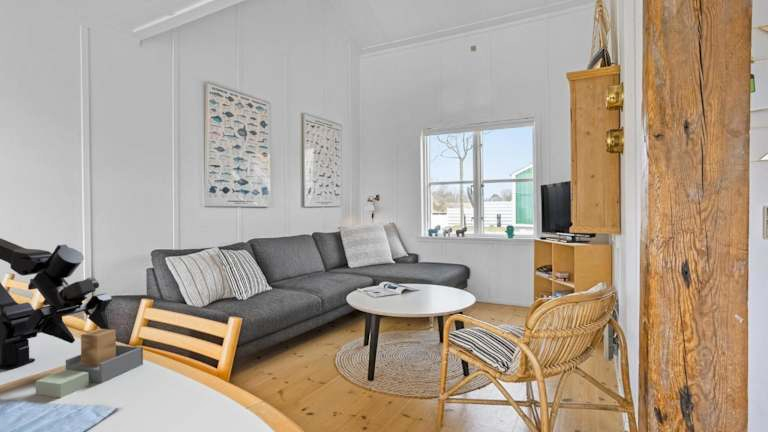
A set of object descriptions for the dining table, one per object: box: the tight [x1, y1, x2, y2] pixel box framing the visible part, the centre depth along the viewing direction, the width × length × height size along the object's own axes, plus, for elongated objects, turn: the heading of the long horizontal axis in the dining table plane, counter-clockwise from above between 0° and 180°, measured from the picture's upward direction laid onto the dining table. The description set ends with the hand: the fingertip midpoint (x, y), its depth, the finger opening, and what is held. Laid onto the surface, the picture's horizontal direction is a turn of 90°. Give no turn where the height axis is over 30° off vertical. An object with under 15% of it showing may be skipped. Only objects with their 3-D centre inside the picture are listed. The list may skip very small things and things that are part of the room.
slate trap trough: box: [65, 344, 144, 384], centre depth 103 cm, size 11×12×4 cm
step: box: [35, 369, 90, 399], centre depth 93 cm, size 7×6×3 cm
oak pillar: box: [80, 328, 117, 367], centre depth 101 cm, size 5×5×8 cm
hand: (91, 336), depth 102 cm, fingers open, 9 cm apart
